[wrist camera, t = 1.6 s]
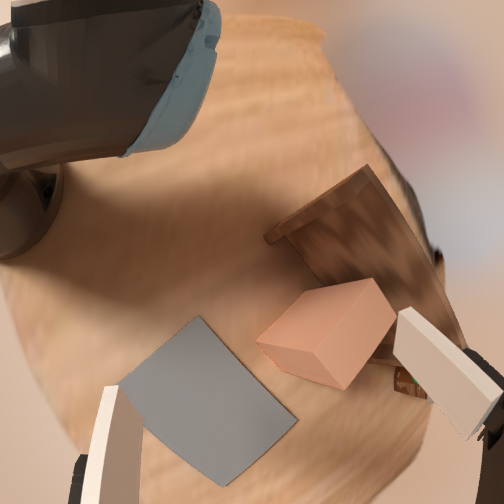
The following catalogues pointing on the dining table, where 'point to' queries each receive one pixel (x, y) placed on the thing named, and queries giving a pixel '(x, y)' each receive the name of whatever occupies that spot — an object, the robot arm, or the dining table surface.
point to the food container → (409, 384)
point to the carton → (329, 332)
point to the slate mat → (205, 404)
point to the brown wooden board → (369, 253)
